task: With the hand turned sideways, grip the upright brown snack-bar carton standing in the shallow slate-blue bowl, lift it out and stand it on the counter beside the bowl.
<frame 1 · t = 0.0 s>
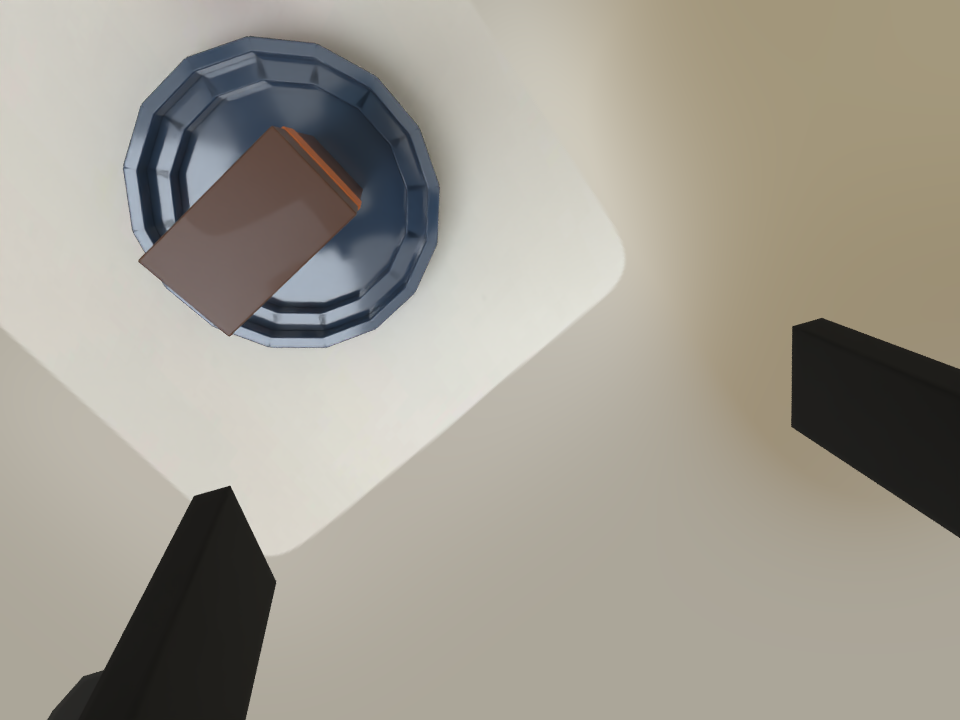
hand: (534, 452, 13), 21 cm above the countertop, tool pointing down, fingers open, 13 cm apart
snack carton: (297, 203, 28), point 1 cm above the countertop, touching bowl
bowl: (298, 202, 29), on the countertop
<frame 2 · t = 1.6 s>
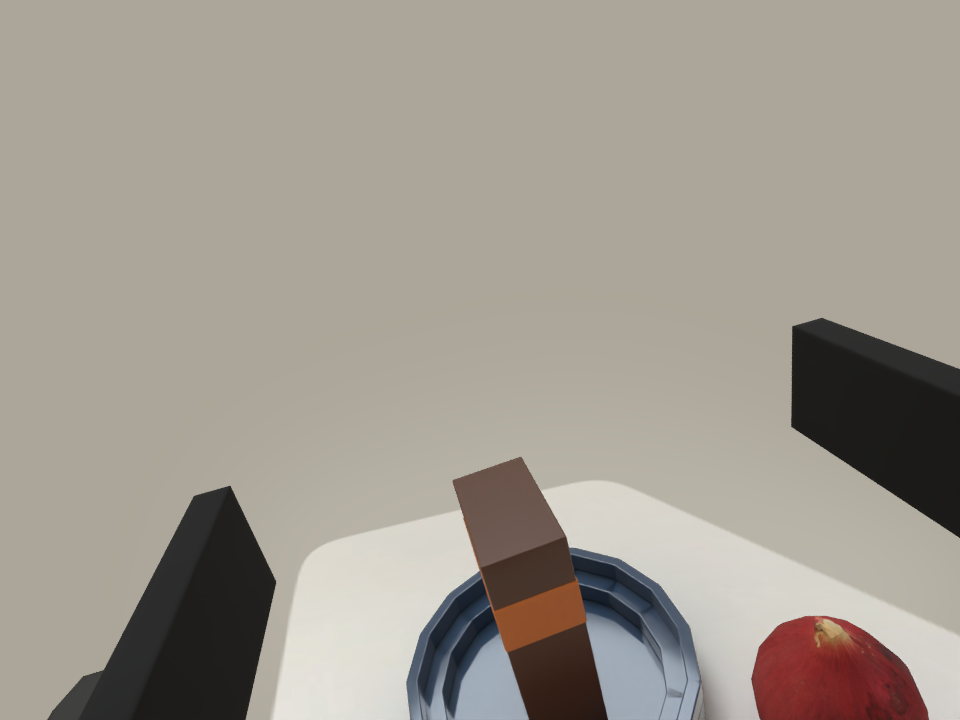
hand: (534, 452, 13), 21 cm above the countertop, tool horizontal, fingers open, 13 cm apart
snack carton: (554, 685, 28), point 1 cm above the countertop, touching bowl
bowl: (556, 693, 28), on the countertop
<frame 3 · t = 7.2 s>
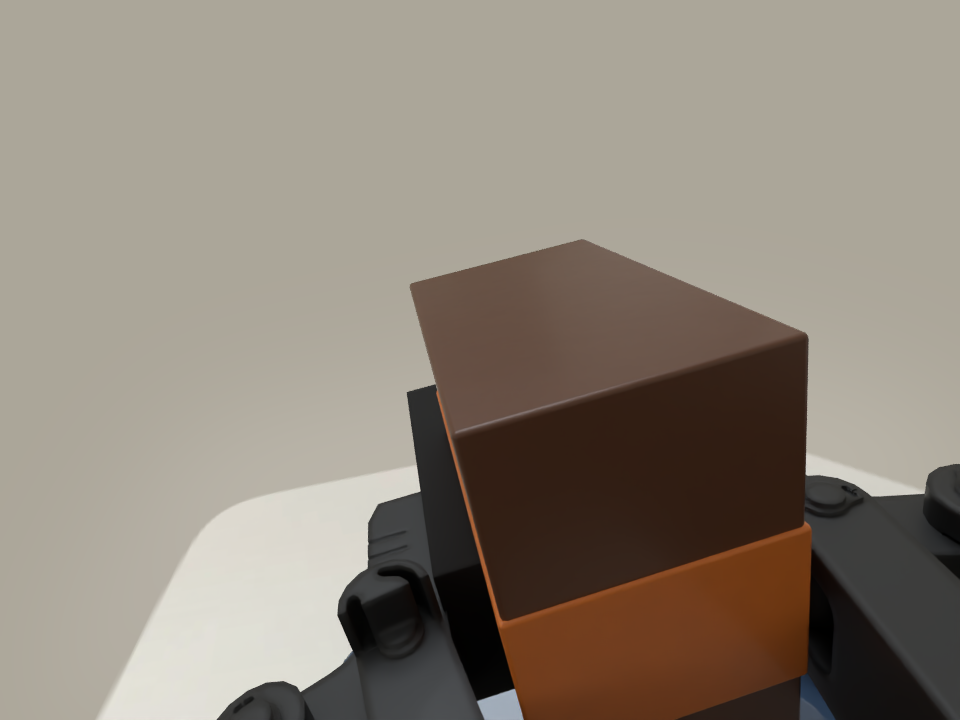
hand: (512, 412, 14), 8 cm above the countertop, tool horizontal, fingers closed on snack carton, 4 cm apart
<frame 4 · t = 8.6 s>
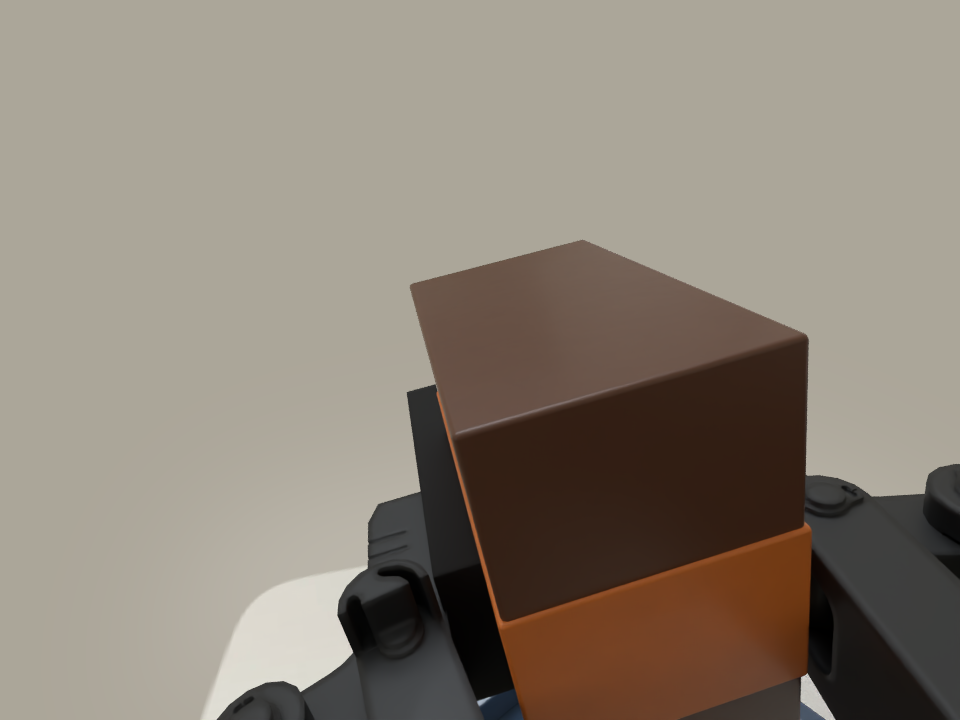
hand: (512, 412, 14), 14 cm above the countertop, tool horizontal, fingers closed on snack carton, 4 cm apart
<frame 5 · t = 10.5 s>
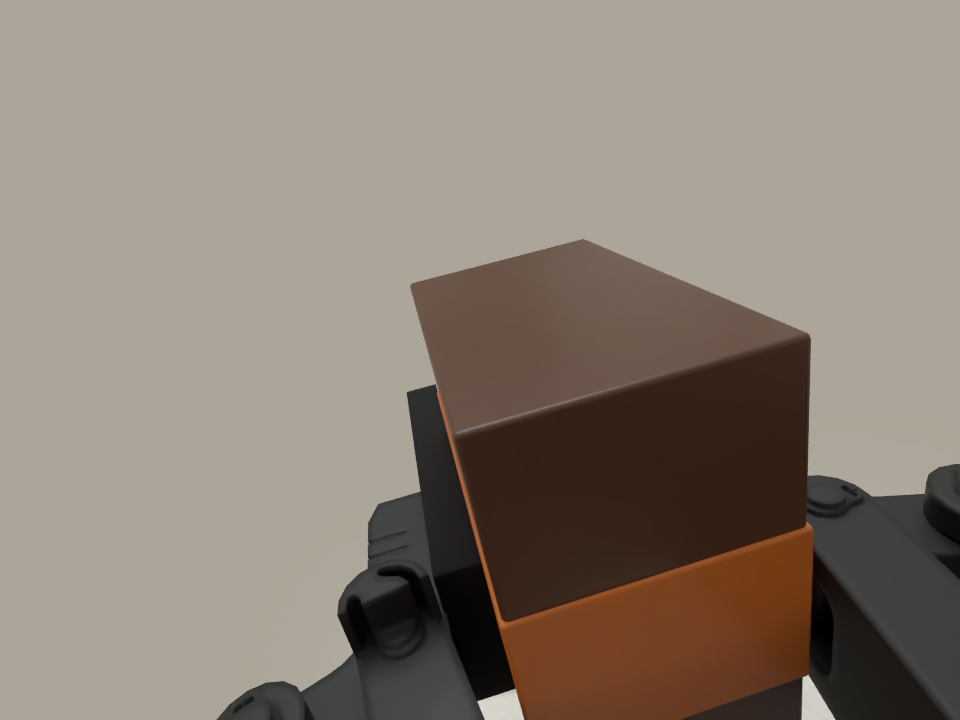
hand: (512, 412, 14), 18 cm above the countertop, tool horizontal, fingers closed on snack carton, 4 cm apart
when the fingers open (7 cm above the countertop, at t = 14.1 s): snack carton stays where it is, on the countertop.
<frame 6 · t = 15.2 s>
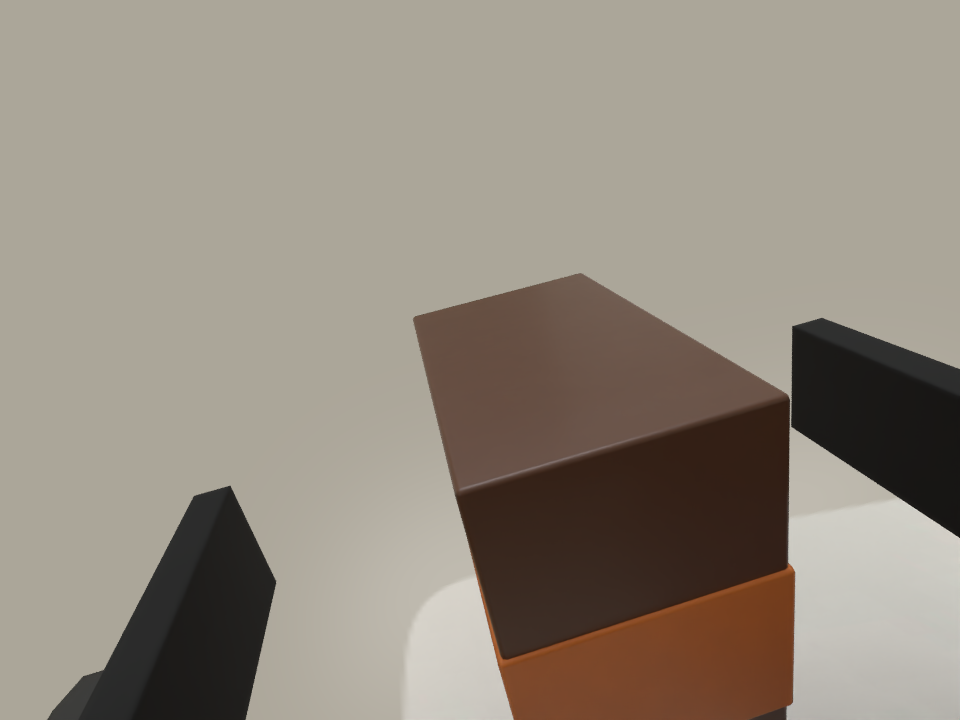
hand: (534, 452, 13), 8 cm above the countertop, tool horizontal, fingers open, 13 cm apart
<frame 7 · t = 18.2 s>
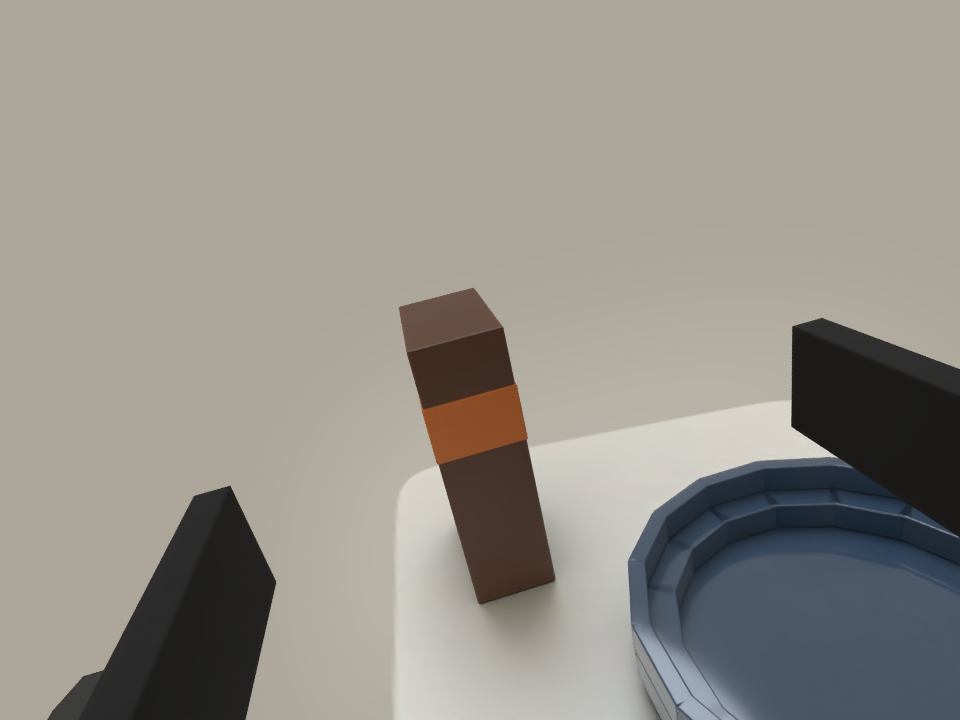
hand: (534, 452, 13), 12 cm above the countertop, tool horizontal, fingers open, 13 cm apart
snack carton: (502, 546, 26), on the countertop
bowl: (858, 657, 18), on the countertop
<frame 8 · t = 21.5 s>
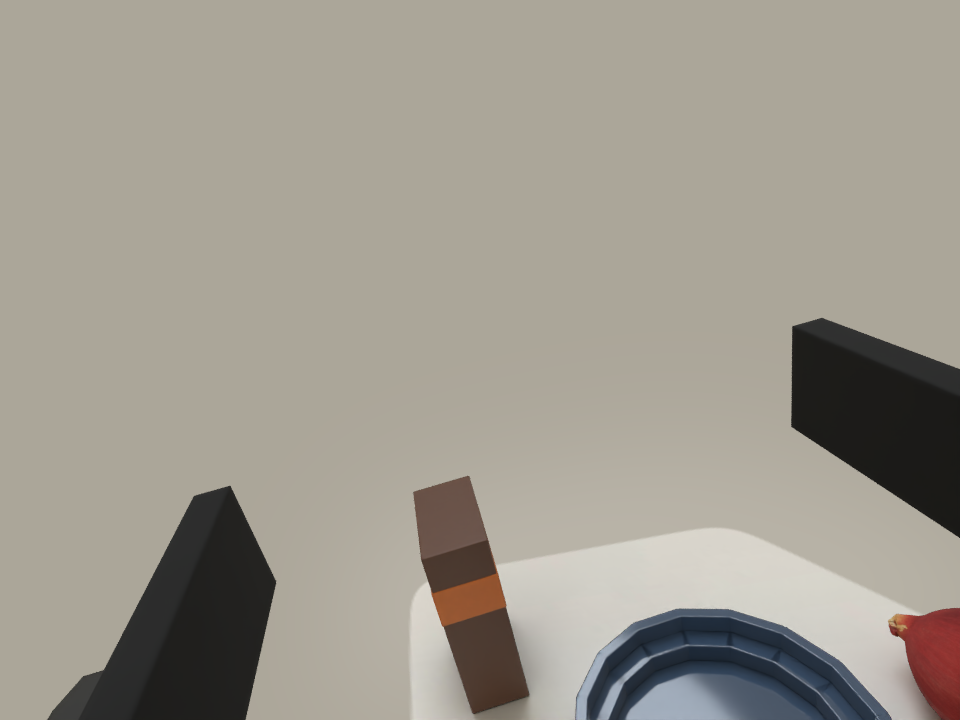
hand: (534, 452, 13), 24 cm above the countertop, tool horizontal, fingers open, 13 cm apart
snack carton: (491, 661, 35), on the countertop
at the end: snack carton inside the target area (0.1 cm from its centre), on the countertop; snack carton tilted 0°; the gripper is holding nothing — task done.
